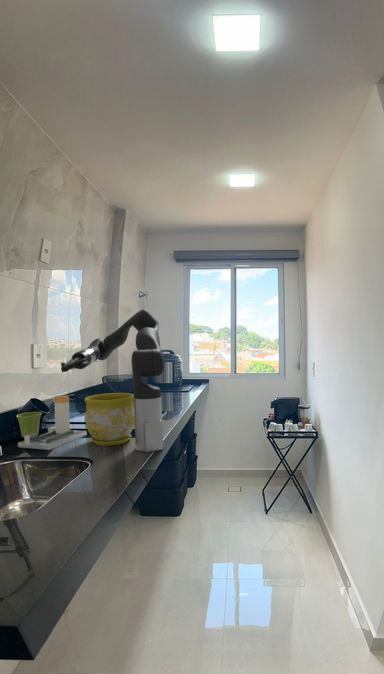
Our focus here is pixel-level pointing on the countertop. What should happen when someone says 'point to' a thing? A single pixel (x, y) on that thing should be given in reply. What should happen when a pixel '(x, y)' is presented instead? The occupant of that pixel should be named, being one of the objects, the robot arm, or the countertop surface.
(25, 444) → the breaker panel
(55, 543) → the countertop surface
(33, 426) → the plant pot
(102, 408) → the flowerpot
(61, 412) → the white bottle
